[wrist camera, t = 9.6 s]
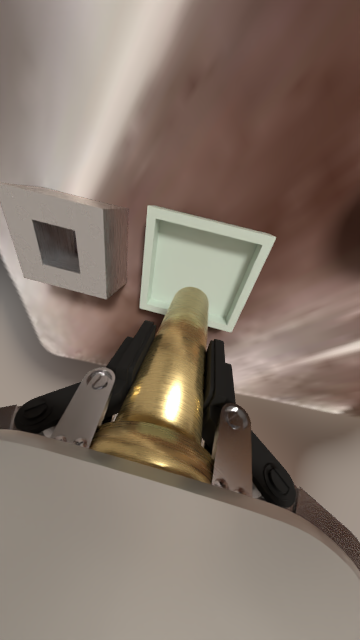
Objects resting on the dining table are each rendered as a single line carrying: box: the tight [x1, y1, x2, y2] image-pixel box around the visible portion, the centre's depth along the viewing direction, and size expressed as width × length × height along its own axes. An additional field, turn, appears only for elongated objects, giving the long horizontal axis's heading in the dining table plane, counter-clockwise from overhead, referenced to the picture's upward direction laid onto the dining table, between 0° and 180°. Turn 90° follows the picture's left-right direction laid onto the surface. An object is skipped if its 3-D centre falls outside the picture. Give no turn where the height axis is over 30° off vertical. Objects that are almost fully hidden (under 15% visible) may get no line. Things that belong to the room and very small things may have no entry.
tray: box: [140, 206, 276, 332], centre depth 23 cm, size 13×14×3 cm
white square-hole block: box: [0, 183, 128, 299], centre depth 22 cm, size 10×11×6 cm
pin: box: [89, 287, 213, 484], centre depth 11 cm, size 5×5×14 cm
